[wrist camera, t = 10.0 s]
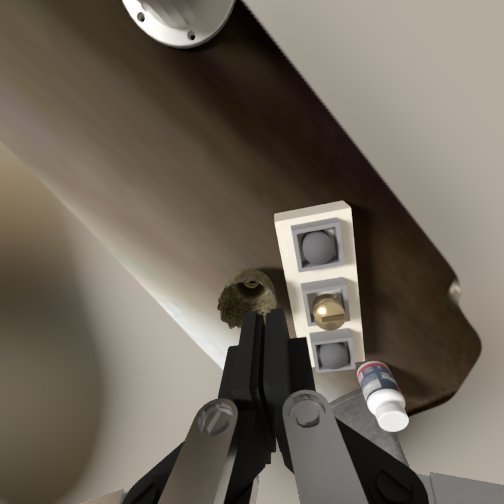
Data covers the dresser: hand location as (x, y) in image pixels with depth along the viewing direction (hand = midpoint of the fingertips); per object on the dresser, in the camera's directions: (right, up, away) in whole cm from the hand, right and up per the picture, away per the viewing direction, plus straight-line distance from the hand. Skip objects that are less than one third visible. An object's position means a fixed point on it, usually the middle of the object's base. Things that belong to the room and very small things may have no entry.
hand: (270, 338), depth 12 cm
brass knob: (+9, -3, +24) cm, 25 cm away
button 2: (+7, +5, +22) cm, 24 cm away
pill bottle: (+19, -16, +35) cm, 43 cm away
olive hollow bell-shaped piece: (-1, 0, +30) cm, 30 cm away
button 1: (+10, -10, +28) cm, 32 cm away
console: (+9, -1, +29) cm, 30 cm away
